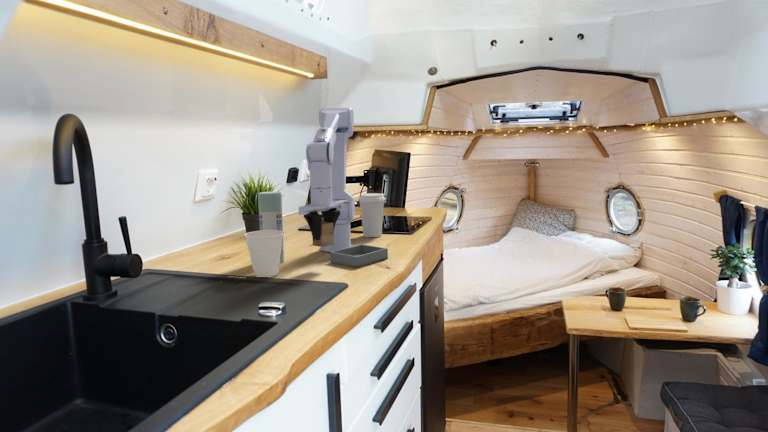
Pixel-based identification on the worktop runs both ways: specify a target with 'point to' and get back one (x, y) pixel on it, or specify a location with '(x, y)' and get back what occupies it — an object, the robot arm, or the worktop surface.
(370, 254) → the bin
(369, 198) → the coffee cup
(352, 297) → the worktop surface
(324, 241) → the walnut block
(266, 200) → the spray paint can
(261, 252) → the cup
